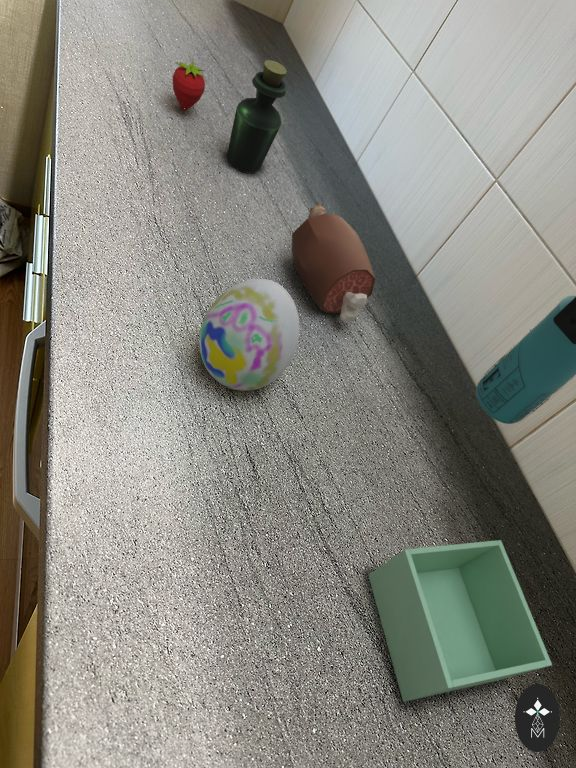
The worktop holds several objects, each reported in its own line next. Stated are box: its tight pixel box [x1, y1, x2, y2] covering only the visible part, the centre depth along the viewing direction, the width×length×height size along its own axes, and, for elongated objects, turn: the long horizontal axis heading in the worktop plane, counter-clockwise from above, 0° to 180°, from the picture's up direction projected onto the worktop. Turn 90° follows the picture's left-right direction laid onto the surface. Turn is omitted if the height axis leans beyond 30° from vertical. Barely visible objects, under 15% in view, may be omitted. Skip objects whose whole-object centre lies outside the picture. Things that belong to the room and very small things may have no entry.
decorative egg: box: [198, 278, 301, 392], centre depth 72 cm, size 12×12×15 cm
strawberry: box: [171, 56, 206, 112], centre depth 105 cm, size 6×8×10 cm
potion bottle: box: [226, 59, 288, 174], centre depth 99 cm, size 8×8×18 cm
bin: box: [367, 539, 553, 703], centre depth 62 cm, size 13×13×8 cm
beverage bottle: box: [475, 295, 576, 425], centre depth 58 cm, size 6×7×20 cm
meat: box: [291, 204, 376, 324], centre depth 89 cm, size 20×12×10 cm, turn 21°
